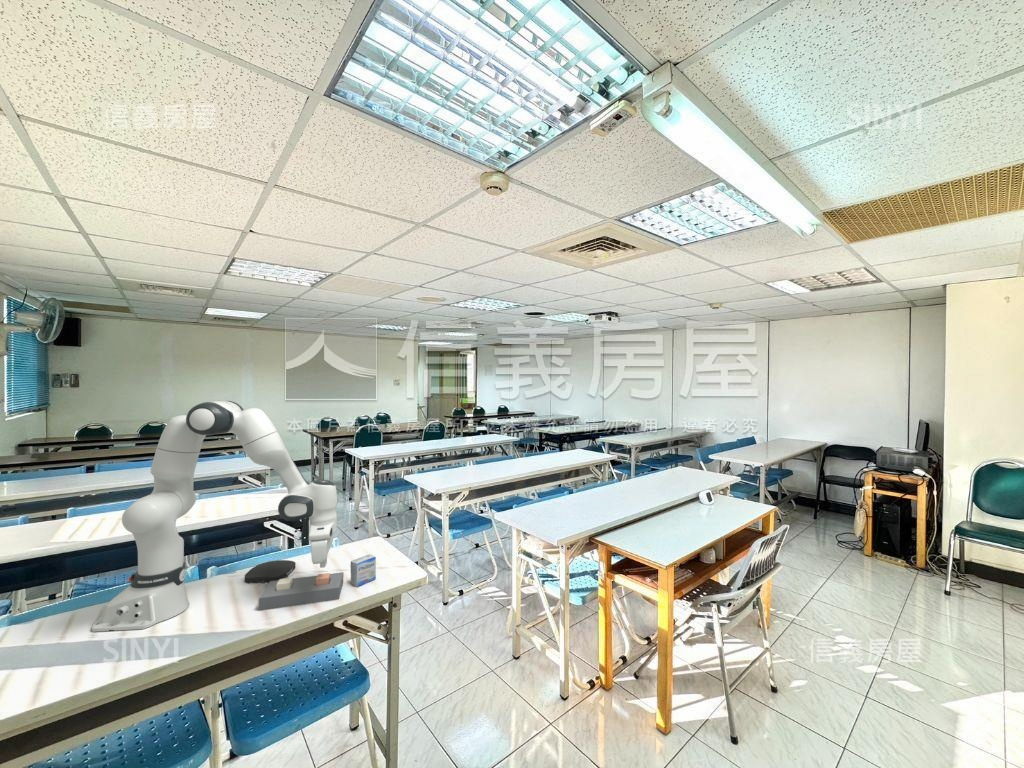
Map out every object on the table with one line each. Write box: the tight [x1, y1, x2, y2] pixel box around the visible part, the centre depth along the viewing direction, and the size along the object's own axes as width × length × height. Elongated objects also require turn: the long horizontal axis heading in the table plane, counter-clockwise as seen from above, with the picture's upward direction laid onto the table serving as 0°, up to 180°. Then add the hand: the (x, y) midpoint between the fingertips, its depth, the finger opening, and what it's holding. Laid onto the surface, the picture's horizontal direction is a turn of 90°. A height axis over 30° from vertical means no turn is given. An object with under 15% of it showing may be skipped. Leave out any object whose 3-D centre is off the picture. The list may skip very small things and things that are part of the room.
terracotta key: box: [316, 572, 331, 586], centre depth 138 cm, size 4×4×3 cm
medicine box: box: [350, 553, 377, 588], centre depth 147 cm, size 8×4×9 cm, turn 143°
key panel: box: [258, 571, 344, 612], centre depth 136 cm, size 24×12×4 cm, turn 107°
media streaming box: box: [244, 559, 297, 584], centre depth 153 cm, size 15×15×3 cm
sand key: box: [276, 577, 294, 591], centre depth 135 cm, size 4×4×3 cm
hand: (323, 565), depth 138 cm, fingers closed
